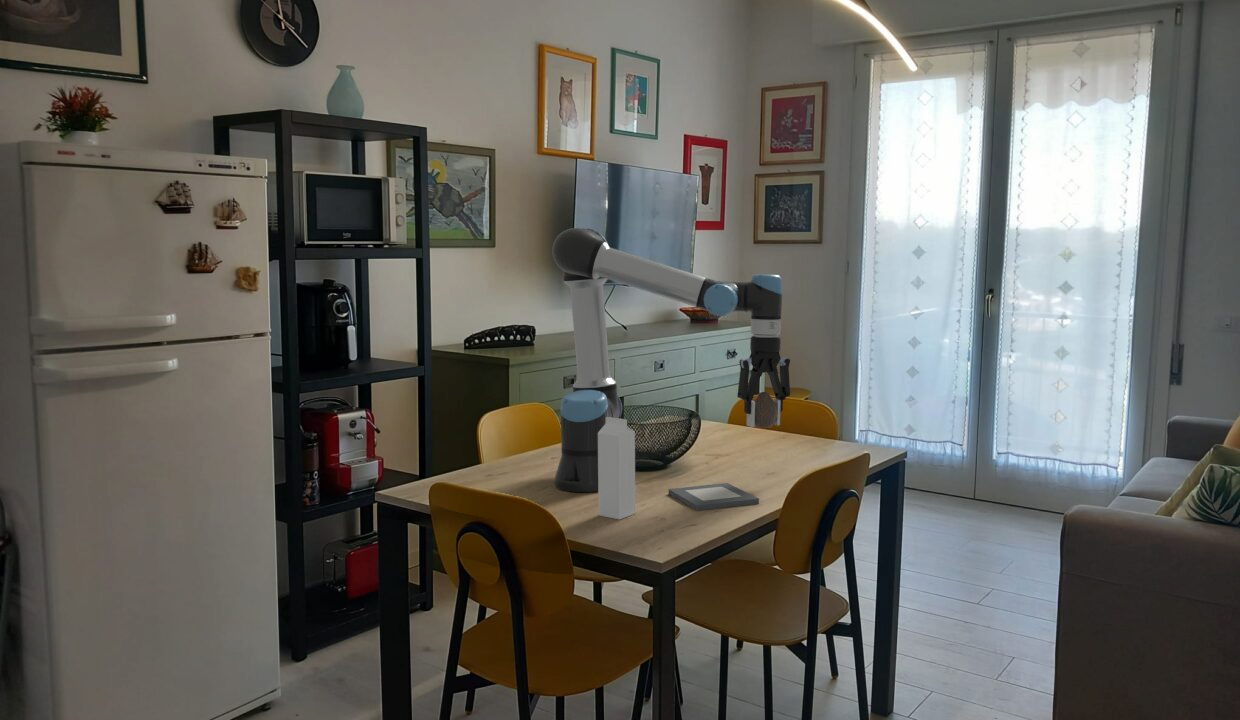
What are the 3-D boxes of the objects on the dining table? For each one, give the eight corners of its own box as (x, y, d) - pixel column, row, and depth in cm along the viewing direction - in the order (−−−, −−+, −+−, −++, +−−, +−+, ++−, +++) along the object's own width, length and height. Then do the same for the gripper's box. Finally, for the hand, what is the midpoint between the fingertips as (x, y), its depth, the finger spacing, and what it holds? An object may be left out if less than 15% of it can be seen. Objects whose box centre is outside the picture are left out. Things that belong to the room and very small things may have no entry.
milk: (614, 509, 216) (613, 414, 214) (635, 514, 212) (635, 417, 210) (597, 515, 211) (597, 418, 209) (619, 520, 207) (618, 421, 205)
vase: (778, 429, 237) (780, 394, 236) (751, 428, 237) (752, 394, 236) (774, 423, 244) (775, 390, 243) (747, 423, 244) (748, 390, 243)
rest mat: (697, 510, 214) (697, 505, 214) (668, 493, 229) (668, 488, 229) (758, 503, 220) (759, 498, 220) (727, 487, 235) (727, 482, 235)
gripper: (738, 338, 231) (736, 430, 234) (807, 335, 238) (804, 425, 241) (724, 335, 238) (722, 425, 240) (790, 333, 245) (788, 420, 248)
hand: (763, 425), depth 241 cm, fingers closed on vase, 7 cm apart
